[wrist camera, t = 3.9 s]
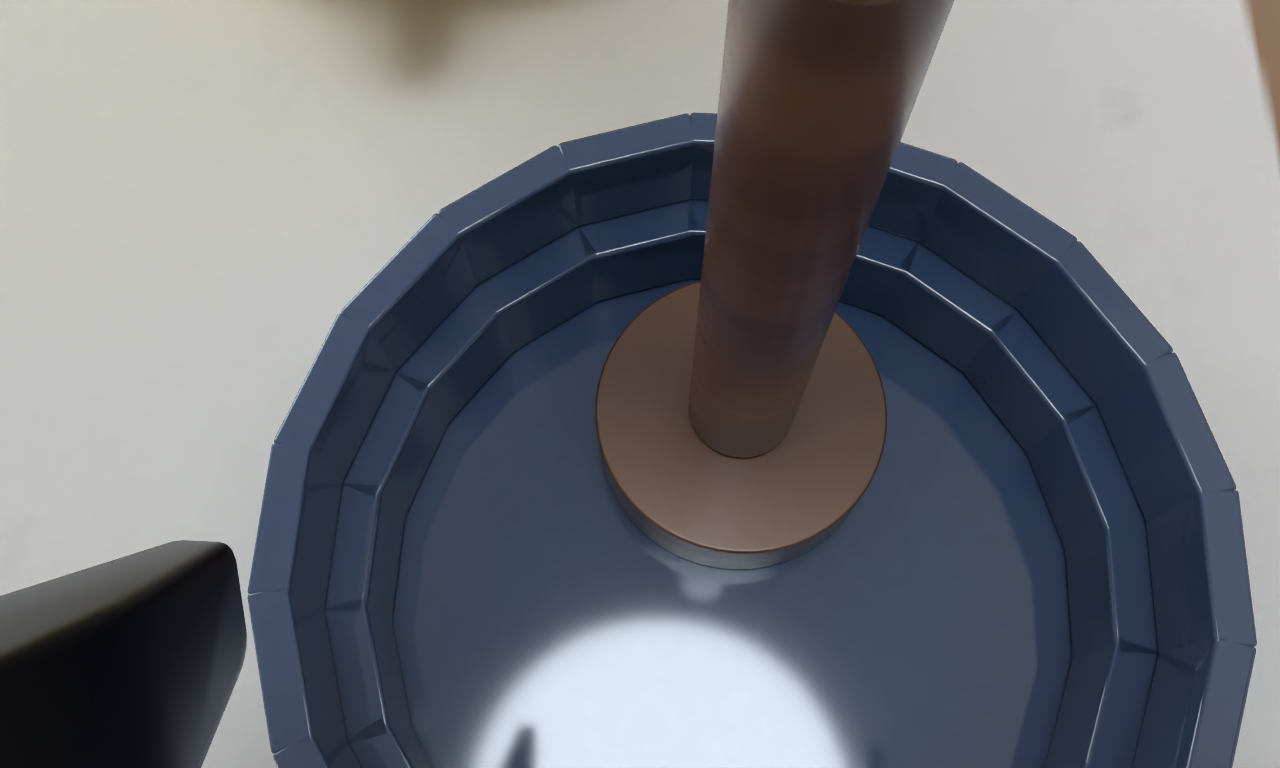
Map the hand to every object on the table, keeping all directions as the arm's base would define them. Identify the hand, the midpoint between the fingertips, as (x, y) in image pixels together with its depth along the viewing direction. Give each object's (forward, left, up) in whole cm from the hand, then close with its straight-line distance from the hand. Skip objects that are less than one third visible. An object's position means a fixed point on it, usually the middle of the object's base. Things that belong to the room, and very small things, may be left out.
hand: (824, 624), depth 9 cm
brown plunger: (+5, 0, -11) cm, 13 cm away
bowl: (+2, 0, -12) cm, 12 cm away
